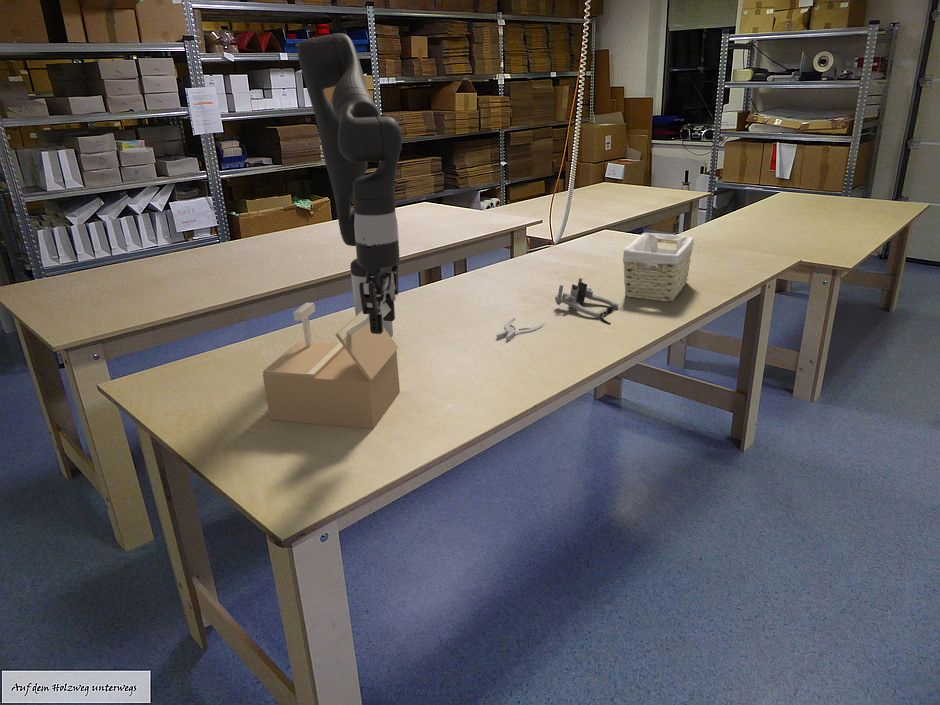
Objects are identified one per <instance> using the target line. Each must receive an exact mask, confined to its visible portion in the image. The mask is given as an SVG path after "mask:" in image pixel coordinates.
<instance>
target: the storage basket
mask: <svg viewBox="0 0 940 705" xmlns="http://www.w3.org/2000/svg"><path fill="white" fill-rule="evenodd" d="M659 243H660V244H661V243H663V244H671V245H672V244H674V245H675V244H676V249H665V248H659V247H658V245H659ZM693 247H694V237H693V236H692V235H681V234H680V235H679V234H669V233H668V234H667V233H657V232H655V233H654V232H652V233H651V232H643V233H642V234H641V235H639V236H638V237H637V238H636V239H634V240H633V241H632V242H630V244H629V245H628V246H626V247H625V248H624V249H623V257H622V262H623V272H624V273H623V277H624V281H623V282H624V295H625V296H626V297H628V298H635V299H644V300H652V301H660V302H673V301H674V300H675V298H676V297H677V296H678V295H679V293H680V292H681V291H682V289H683V288H684V286H686V283H687V282H688V281H689V279H688V276H689V270H690V265H691V256H692V252H693Z"/></svg>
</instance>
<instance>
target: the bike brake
mask: <svg viewBox="0 0 940 705" xmlns="http://www.w3.org/2000/svg"><path fill="white" fill-rule="evenodd" d="M563 289H564V285H563V284H559V288H558V293H557V295H555V298H554V301H555V303H556V305H558V306H560V305H562V304H565V305H567V306H568V307H570V308H572V309H574V310H575V309H576V310H577V311H579V312H580V313H583V314H584V315H588V316H591V317H594V318H596V319H600V320H601V321H602V322H603V323H605V324H606V325H611V324H612V323H611V322H609V321H608V320H606V319H605V318H604V316H606V315H607V314H609V313H611V312H612V311H614V310H617V309H618V308H619V305H620V303H617V302H614V301H613V300H610V299H608V298H606V297H602V296H599V295H596V294H594V291H592V290H593V289H592V288H591V287H588V284H587V283H585V282H583V278H582V277H578V281H577V285H576V284H571V289H570V294H569V293H567V292H563ZM585 299H588V300H591V301H596V302H599V303H602V304H606V305H608V306H609V307H607V308H605V309H601V310H599V311H597V312H596V311H594V310H590V309H588V308H586V307H584V304H585Z"/></svg>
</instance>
